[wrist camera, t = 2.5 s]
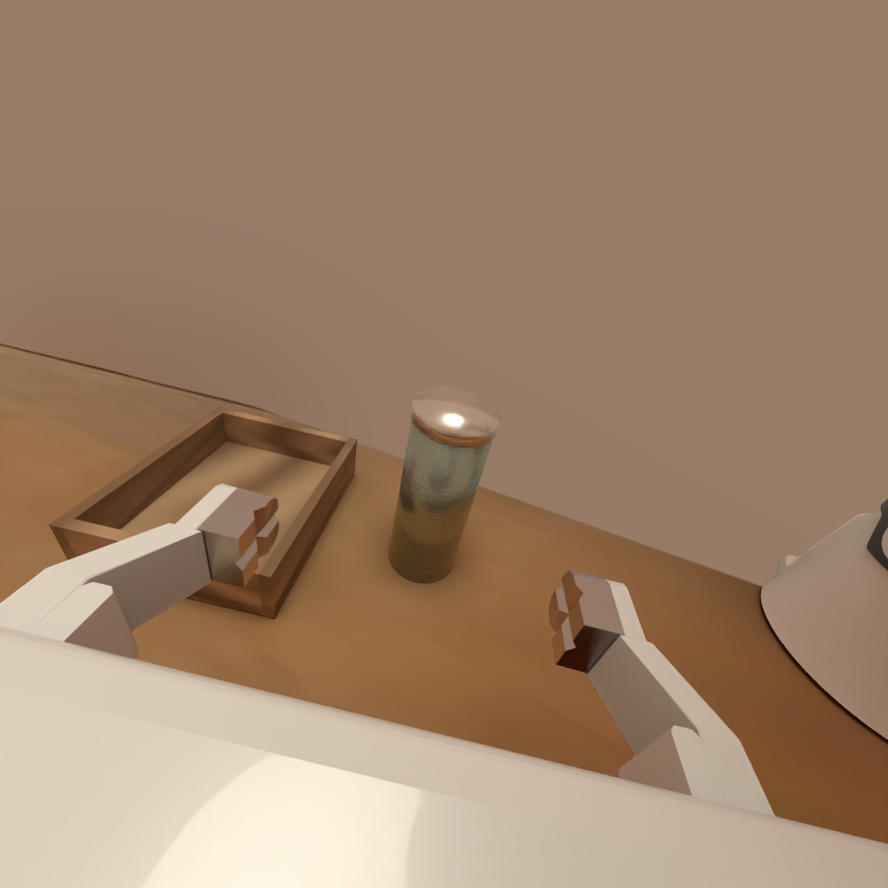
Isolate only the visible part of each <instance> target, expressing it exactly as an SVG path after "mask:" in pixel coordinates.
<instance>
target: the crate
mask: <svg viewBox="0 0 888 888" xmlns="http://www.w3.org/2000/svg"><path fill="white" fill-rule="evenodd" d="M356 446H357V440H356V439H352V438H348V437H344V436H339V435H335V434H331V433H327V432H322V431H318V430H314V429H310V428H306V427H301V426H297V425H293V424H289V423H284V422H280V421H276V420H272V419H267V418H263V417H259V416H255V415H250V414H246V413H242V412H238V411H233V410H229V409H225V408H221V407H219V408H218V409H216V410H215V411H213V412H212V413H210V414H209V415H207V416H206V417H205V418H203V419H202V420H200V421H199V422H197V423H196V424H194V425H193V426H192V427H190V428H189V429H187V430H186V431H184V432H183V433H181V434H180V435H178V436H177V437H176V438H174V439H173V440H171V441H170V442H168V443H167V444H165V445H164V446H163V447H161V448H160V449H158V450H157V451H155V452H154V453H152V454H151V455H149V456H148V457H147V458H145V459H144V460H142V461H141V462H139V463H138V464H136V465H135V466H134V467H132V468H131V469H129V470H128V471H126V472H125V473H123V474H122V475H121V476H119V477H118V478H116V479H115V480H113V481H112V482H110V483H109V484H107V485H106V486H105V487H103V488H102V489H100V490H99V491H97V492H96V493H94V494H93V495H92V496H90V497H89V498H87V499H86V500H84V501H83V502H81V503H80V504H78V505H77V506H76V507H74V508H73V509H71V510H70V511H68V512H67V513H65V514H64V515H63V516H61V517H60V518H58V519H57V520H55V521H54V522H52V523H51V524H50V525H49V526H50V528H51V529H52V531H53V533H54V535H55V537H56V539H57V540H58V542H59V544H60V546H61V548H62V550H63V552H64V553H65V555H66V557H67V559H68V560H70V559H73V558H75V557H78V556H81V555H83V554H86V553H89V552H92V551H94V550H97V549H100V548H102V547H105V546H108V545H111V544H113V543H116V542H119V541H121V540H124V539H127V538H130V537H132V536H135V535H138V534H140V533H143V532H146V531H149V530H151V529H154V528H157V527H159V526H162V525H165V524H168V523H171V524H176V523H177V522H178V521H179V520H180V519H181V518H182V517H183V516H184V515H185V514H186V513H187V512H188V511H189V510H191V509H192V508H193V507H194V506H195V505H196V504H197V503H198V502H199V501H200V500H201V499H202V498H203V497H204V496H205V495H207V494H208V493H209V492H210V491H211V490H212V489H213V488H214V487H215V486H217V485H220V484H226V485H229V486H233V487H237V488H241V489H245V490H249V491H252V492H256V493H260V494H263V495H267V496H270V497H274V498H276V499H278V508H279V509H278V510H277V511H276V513H275V514H274V515H275V516H276V517H277V518H278V520H279V530H278V535H277V538H276V540H275V542H274V545H273V546H272V548H271V549H270V551H269V552H268V554H266V555H264V556H262V557H260V558H258V565H259V567H258V568H257V570H256V571H255V573H254V574H253V576H252V577H251V578H250V580H249V581H248V583H247V584H246V586H245V587H240V586H235V585H231V584H226V583H221V582H217V581H212V580H211V583H209V584H208V585H206V586H205V587H203V588H201V589H200V590H198V591H196V592H195V593H193V594H191V595H190V596H188V597H187V598H189V599H193V600H197V601H201V602H206V603H210V604H214V605H218V606H222V607H227V608H231V609H235V610H239V611H244V612H248V613H252V614H256V615H261V616H265V617H269V618H273V619H275V617H276V615H277V614H278V612H279V610H280V608H281V606H282V604H283V603H284V601H285V599H286V597H287V595H288V594H289V592H290V590H291V588H292V586H293V585H294V583H295V581H296V579H297V577H298V576H299V574H300V572H301V570H302V568H303V567H304V565H305V563H306V561H307V559H308V557H309V556H310V554H311V552H312V550H313V548H314V547H315V545H316V543H317V541H318V539H319V538H320V536H321V534H322V532H323V530H324V529H325V527H326V525H327V523H328V521H329V520H330V518H331V516H332V514H333V512H334V510H335V509H336V507H337V505H338V503H339V501H340V500H341V498H342V496H343V494H344V492H345V491H346V489H347V487H348V485H349V483H350V482H351V480H352V478H353V476H354V470H355V458H356Z"/></svg>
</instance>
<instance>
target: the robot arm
mask: <svg viewBox="0 0 888 888" xmlns="http://www.w3.org/2000/svg"><path fill="white" fill-rule="evenodd" d="M278 509H279V508H278V499H276V498H274V497H270V496H267V495H263V494H260V493H256V492H252V491H249V490H245V489H241V488H237V487H233V486H229V485H226V484H220V485H217V486H215V487H214V488H213V489H212V490H211V491H210V492H209V493H208V494H207V495H205V496H204V497H203V498H202V499H201V500H200V501H199V502H198V503H197V504H196V505H195V506H194V507H193V508H192V509H191V510H189V511H188V512H187V513H186V514H185V515H184V516H183V517H182V518H181V519H180V520H179V521H178V522H177V523H176V524H171V523H168V524H165V525H162V526H159V527H157V528H154V529H151V530H149V531H146V532H143V533H140V534H138V535H135V536H132V537H130V538H127V539H124V540H121V541H119V542H116V543H113V544H111V545H108V546H105V547H102V548H100V549H97V550H94V551H92V552H89V553H86V554H83V555H81V556H78V557H75V558H73V559H70V560H67V561H64V562H62V563H59V564H56V565H54V566H51V567H48V568H46V569H45V570H43V571H42V572H41V573H39V574H38V575H37V576H35V577H34V578H33V579H32V580H30V581H29V582H28V583H26V584H25V585H24V586H22V587H21V588H20V589H19V590H17V591H16V592H15V593H13V594H12V595H11V596H9V597H8V598H7V599H5V600H4V601H3V602H2V603H0V888H888V844H886V843H882V842H878V841H874V840H870V839H866V838H862V837H858V836H853V835H849V834H845V833H841V832H837V831H833V830H829V829H825V828H821V827H817V826H813V825H809V824H805V823H801V822H797V821H792V820H788V819H784V818H780V817H776V816H775V815H774V813H773V811H772V808H771V806H770V804H769V802H768V800H767V798H766V796H765V793H764V791H763V789H762V787H761V785H760V783H759V781H758V778H757V776H756V774H755V772H754V770H753V768H752V766H751V763H750V761H749V759H748V757H747V755H746V753H745V750H744V748H743V746H742V744H741V742H740V740H739V739H738V738H737V737H736V735H735V734H734V733H733V732H732V731H731V730H730V729H729V728H728V727H727V725H726V724H725V723H724V722H723V721H722V720H721V719H720V718H719V717H718V715H717V714H716V713H715V712H714V711H713V710H712V709H711V708H710V707H709V706H708V704H707V703H706V702H705V701H704V700H703V699H702V698H701V697H700V696H699V694H698V693H697V692H696V691H695V690H694V689H693V688H692V687H691V686H690V684H689V683H688V682H687V681H686V680H685V679H684V678H683V677H682V676H681V674H680V673H679V672H678V671H677V670H676V669H675V668H674V667H673V666H672V664H671V663H670V662H669V661H668V660H667V659H666V658H665V657H664V656H663V654H662V653H661V652H660V651H659V650H658V649H657V648H656V647H655V646H654V644H653V643H650V642H647V641H646V639H645V636H644V633H643V630H642V627H641V625H640V622H639V619H638V616H637V614H636V611H635V608H634V605H633V603H632V600H631V597H630V594H629V592H628V589H627V587H626V586H625V585H624V584H622V583H618V582H614V581H610V580H604V579H602V578H598V577H593V576H589V575H585V574H581V573H577V572H572V571H568V572H567V573H565V575H564V576H563V578H562V583H563V586H562V587H560V588H558V589H556V590H555V592H554V593H553V595H552V597H551V602H550V606H549V618H550V624H551V626H552V627H553V628H554V630H555V631H556V635H555V636H554V638H553V639H552V642H553V649H554V656H555V663H556V665H559V666H563V667H566V668H570V669H574V670H577V671H581V672H584V673H588V674H587V676H588V678H589V680H590V681H591V683H592V685H593V686H594V688H595V690H596V691H597V693H598V695H599V696H600V698H601V700H602V701H603V703H604V705H605V706H606V708H607V710H608V711H609V713H610V715H611V717H612V718H613V720H614V722H615V723H616V725H617V727H618V728H619V730H620V732H621V733H622V735H623V737H624V738H625V740H626V742H627V743H628V745H629V747H630V748H631V750H632V752H633V753H634V755H635V756H634V757H633V758H632V759H630V760H629V761H628V762H627V763H625V764H624V765H623V766H622V767H621V768H620V769H619V770H618V775H619V778H617V777H613V776H609V775H605V774H601V773H597V772H593V771H589V770H584V769H580V768H576V767H572V766H568V765H564V764H560V763H556V762H552V761H548V760H544V759H540V758H536V757H532V756H528V755H523V754H519V753H515V752H511V751H507V750H503V749H499V748H495V747H491V746H487V745H483V744H479V743H475V742H471V741H467V740H463V739H458V738H454V737H450V736H446V735H442V734H438V733H434V732H430V731H426V730H422V729H418V728H414V727H410V726H406V725H402V724H397V723H393V722H389V721H385V720H381V719H377V718H373V717H369V716H365V715H361V714H357V713H353V712H349V711H345V710H341V709H336V708H332V707H328V706H324V705H320V704H316V703H312V702H308V701H304V700H300V699H296V698H292V697H288V696H284V695H279V694H275V693H271V692H267V691H263V690H259V689H255V688H251V687H247V686H243V685H239V684H235V683H231V682H226V681H222V680H218V679H214V678H210V677H206V676H202V675H198V674H194V673H190V672H186V671H182V670H178V669H173V668H169V667H165V666H161V665H157V664H153V663H149V662H145V661H141V660H137V659H135V658H136V657H137V655H138V654H139V652H138V646H137V644H136V641H135V639H134V637H133V634H132V632H131V631H133V630H134V629H136V628H138V627H139V626H141V625H143V624H144V623H146V622H147V621H149V620H151V619H152V618H154V617H156V616H157V615H159V614H160V613H162V612H164V611H165V610H167V609H169V608H170V607H172V606H174V605H175V604H177V603H178V602H180V601H182V600H183V599H185V598H187V597H188V596H190V595H191V594H193V593H195V592H196V591H198V590H200V589H201V588H203V587H205V586H206V585H208V584H209V583H211V580H212V581H217V582H221V583H226V584H231V585H235V586H240V587H245V586H246V584H247V583H248V581H249V580H250V578H251V577H252V576H253V574H254V573H255V571H256V570H257V568H258V567H259V565H258V558H260V557H262V556H264V555H266V554H268V552H269V551H270V549H271V548H272V546H273V545H274V542H275V540H276V538H277V535H278V530H279V520H278V518H277V517H276V516H275V515H274V514H275V513H276V511H277V510H278ZM761 602H762V606H763V609H764V612H765V614H766V617H767V619H768V621H769V623H770V625H771V626H772V628H773V630H774V631H775V633H776V635H777V636H778V638H779V639H780V640H781V642H782V643H783V645H784V646H785V647H786V649H787V650H788V651H789V652H790V653H791V655H792V656H793V657H794V658H795V659H796V661H797V662H798V663H799V664H800V665H801V666H802V667H803V668H804V670H805V671H806V672H807V673H808V674H809V675H810V676H811V677H812V678H813V679H814V680H815V681H816V682H817V683H818V684H819V685H820V686H821V687H822V688H823V689H824V690H825V691H827V692H828V693H829V694H830V695H831V696H832V697H833V698H834V699H835V700H837V701H838V702H839V703H840V704H841V705H842V706H843V707H845V708H846V709H847V710H848V711H850V712H851V713H852V714H853V715H855V716H856V717H857V718H858V719H860V720H861V721H862V722H864V723H865V724H866V725H868V726H869V727H870V728H872V729H873V730H874V731H876V732H877V733H879V734H880V735H882V736H883V737H884V738H886V739H887V740H888V499H887V500H886V501H885V502H883V504H881V513H880V514H874V513H870V514H860V515H858V516H856V517H854V518H853V519H851V520H850V521H848V522H847V523H846V524H844V525H843V526H841V527H840V528H839V529H837V530H836V531H834V532H833V533H832V534H830V535H829V536H827V537H826V538H825V539H823V540H822V541H821V542H819V543H818V544H816V545H815V546H814V547H812V548H811V549H810V550H808V551H807V552H805V553H804V554H803V555H801V556H800V557H797V556H794V555H787V556H786V557H784V558H783V559H781V560H780V561H779V562H778V574H777V575H776V576H775V577H773V578H772V579H770V580H768V581H767V582H766V583H765V584H764V585H763V587H762V590H761Z"/></svg>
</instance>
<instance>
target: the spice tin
mask: <svg viewBox="0 0 888 888" xmlns="http://www.w3.org/2000/svg"><path fill="white" fill-rule="evenodd" d="M411 420H412V421H411V426H410V433H409V438H408V444H407V450H406V455H405V461H404V467H403V473H402V479H401V485H400V491H399V496H398V502H397V508H396V514H395V520H394V526H393V532H392V537H391V543H390V549H389V558H390V562H391V564H392V566H393V568H394V569H395V570H396V571H397V572H398V573H399V574H400V575H401V576H403V577H404V578H406V579H408V580H411V581H414V582H418V583H431V582H435V581H438V580H440V579H442V578H444V577H445V576H446V575H447V574H448V573H449V572H450V570H451V568H452V566H453V563H454V560H455V556H456V553H457V550H458V547H459V544H460V541H461V538H462V534H463V531H464V528H465V525H466V522H467V519H468V516H469V513H470V509H471V506H472V503H473V500H474V497H475V494H476V491H477V487H478V484H479V481H480V478H481V475H482V472H483V469H484V466H485V462H486V459H487V456H488V453H489V450H490V447H491V443H492V440H493V439H494V438H495V436H496V433H497V431H498V427H499V424H500V421H501V414H500V411H499V410H498V409H497V407H496V406H495V405H494V404H493V403H491V402H490V401H489V400H487V399H486V398H484V397H482V396H480V395H478V394H475V393H473V392H470V391H466V390H462V389H458V388H453V387H431V388H426V389H423V390H421V391H419V392H418V393H417V394H416V395H415V396H414V399H413V404H412V410H411Z"/></svg>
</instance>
